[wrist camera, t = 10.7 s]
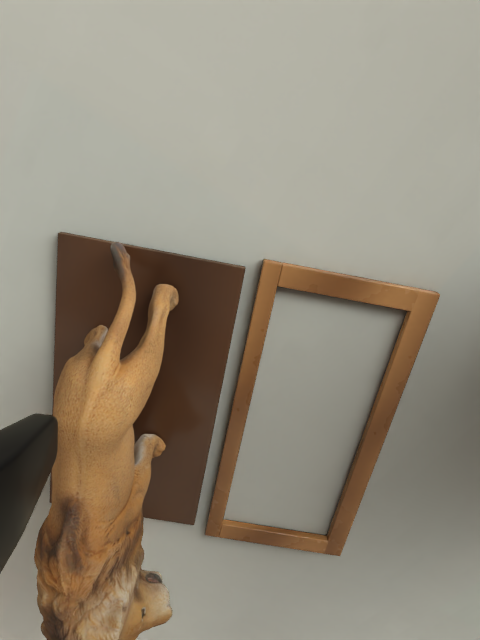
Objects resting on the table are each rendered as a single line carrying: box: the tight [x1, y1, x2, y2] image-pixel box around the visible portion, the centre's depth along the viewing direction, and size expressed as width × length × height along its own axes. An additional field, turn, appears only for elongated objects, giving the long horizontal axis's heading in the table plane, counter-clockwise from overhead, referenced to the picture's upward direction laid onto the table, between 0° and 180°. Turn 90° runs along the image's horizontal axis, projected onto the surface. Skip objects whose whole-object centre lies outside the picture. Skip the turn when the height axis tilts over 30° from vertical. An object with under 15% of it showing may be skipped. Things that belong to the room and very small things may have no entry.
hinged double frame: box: [50, 232, 440, 556], centre depth 22 cm, size 16×16×1 cm
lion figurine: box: [34, 242, 179, 640], centre depth 17 cm, size 15×5×9 cm, turn 0°
